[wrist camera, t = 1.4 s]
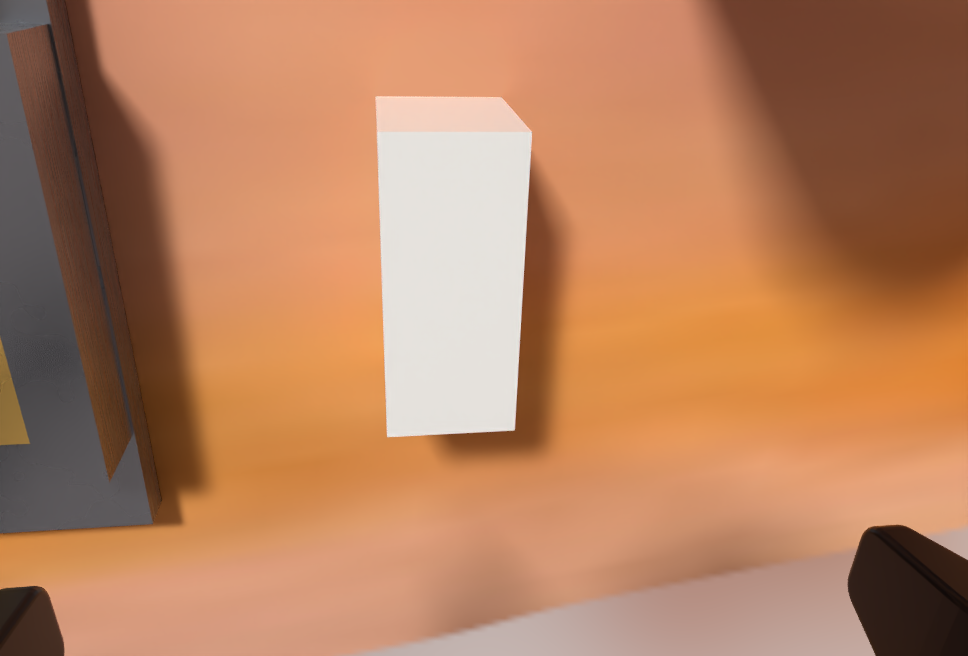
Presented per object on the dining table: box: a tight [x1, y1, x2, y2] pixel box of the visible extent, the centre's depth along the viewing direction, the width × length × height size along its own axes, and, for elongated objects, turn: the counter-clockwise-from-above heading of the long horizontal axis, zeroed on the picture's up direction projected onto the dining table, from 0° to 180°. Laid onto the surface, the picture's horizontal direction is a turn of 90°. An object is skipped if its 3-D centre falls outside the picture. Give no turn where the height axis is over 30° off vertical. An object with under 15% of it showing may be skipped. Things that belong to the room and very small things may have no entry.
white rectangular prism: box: [376, 96, 532, 437], centre depth 18 cm, size 7×3×4 cm, turn 178°
